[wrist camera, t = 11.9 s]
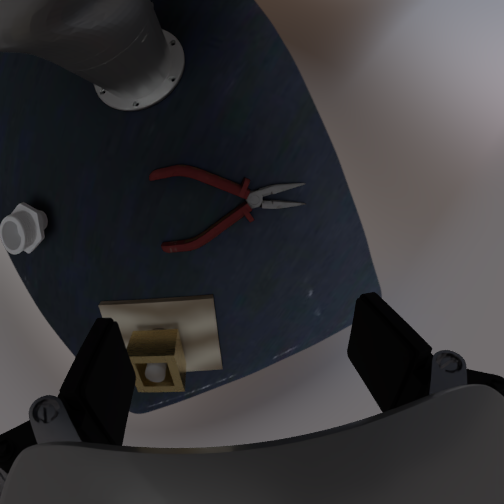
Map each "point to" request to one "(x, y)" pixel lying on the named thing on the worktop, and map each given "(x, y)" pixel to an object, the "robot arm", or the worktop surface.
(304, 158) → the worktop surface
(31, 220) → the pipe fitting
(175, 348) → the hollow wooden cube
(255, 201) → the pliers
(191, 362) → the post stand
